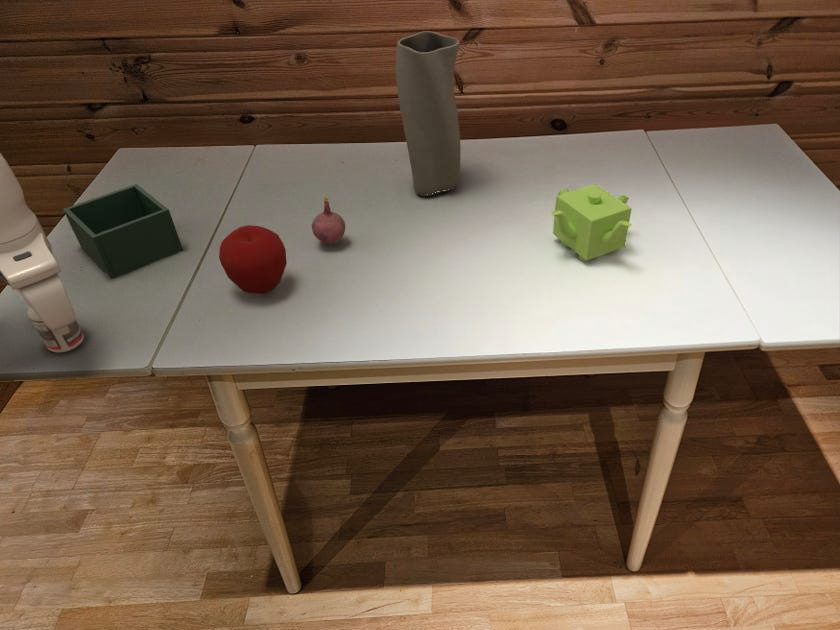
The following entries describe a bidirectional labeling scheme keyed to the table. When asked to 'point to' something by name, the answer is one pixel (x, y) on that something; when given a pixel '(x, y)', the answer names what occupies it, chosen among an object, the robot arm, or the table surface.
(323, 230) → the vegetable
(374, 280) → the table surface
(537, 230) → the table surface
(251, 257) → the apple
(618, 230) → the green peg cube
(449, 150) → the vase
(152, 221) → the bin
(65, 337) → the pill bottle
